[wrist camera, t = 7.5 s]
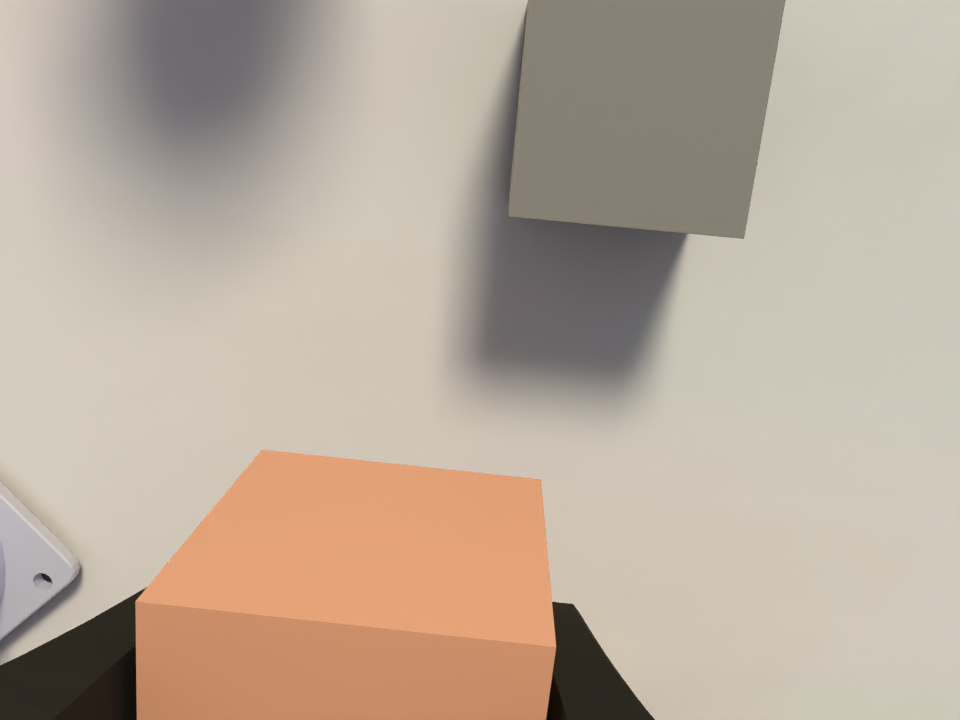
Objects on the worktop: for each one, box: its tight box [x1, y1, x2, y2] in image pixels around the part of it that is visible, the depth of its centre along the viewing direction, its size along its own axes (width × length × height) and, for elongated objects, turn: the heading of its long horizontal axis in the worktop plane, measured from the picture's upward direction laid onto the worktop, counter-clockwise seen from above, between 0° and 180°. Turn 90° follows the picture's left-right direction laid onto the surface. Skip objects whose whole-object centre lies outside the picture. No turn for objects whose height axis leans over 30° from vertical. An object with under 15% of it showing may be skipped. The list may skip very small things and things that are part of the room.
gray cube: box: [508, 0, 785, 239], centre depth 17 cm, size 4×4×4 cm
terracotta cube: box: [135, 450, 556, 720], centre depth 11 cm, size 4×4×4 cm
